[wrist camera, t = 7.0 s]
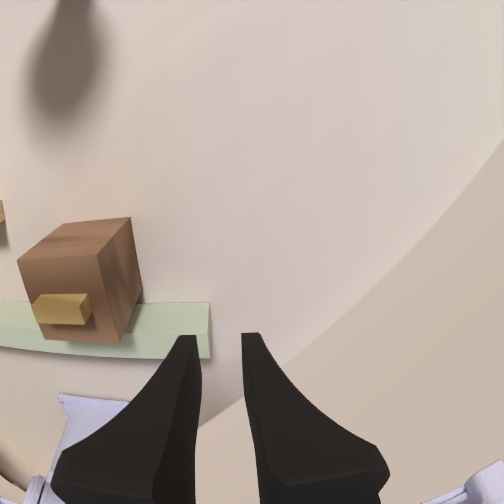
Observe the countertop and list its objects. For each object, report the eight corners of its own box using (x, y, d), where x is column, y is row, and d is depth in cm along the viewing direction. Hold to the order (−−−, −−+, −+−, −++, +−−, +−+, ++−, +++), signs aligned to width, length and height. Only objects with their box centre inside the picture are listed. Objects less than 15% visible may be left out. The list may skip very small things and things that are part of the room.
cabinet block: (143, 287, 21) (114, 357, 14) (79, 289, 20) (36, 352, 14) (130, 216, 19) (86, 265, 12) (63, 223, 18) (4, 270, 12)
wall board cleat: (211, 326, 22) (210, 358, 19) (-38, 315, 20) (-56, 334, 17) (201, 178, 18) (195, 190, 15) (-69, 214, 16) (-93, 227, 13)
